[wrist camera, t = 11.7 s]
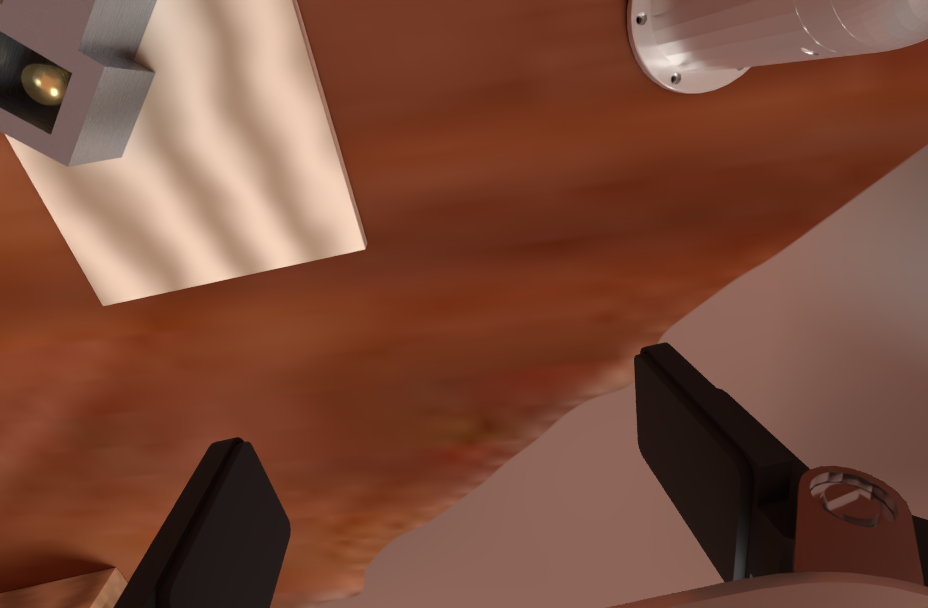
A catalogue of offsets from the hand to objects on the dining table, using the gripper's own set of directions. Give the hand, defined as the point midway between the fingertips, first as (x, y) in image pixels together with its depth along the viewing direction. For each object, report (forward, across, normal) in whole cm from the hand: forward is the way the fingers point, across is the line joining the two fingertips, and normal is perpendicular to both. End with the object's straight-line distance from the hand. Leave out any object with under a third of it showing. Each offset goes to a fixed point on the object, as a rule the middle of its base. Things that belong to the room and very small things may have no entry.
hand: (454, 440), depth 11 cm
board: (+32, +18, -13) cm, 39 cm away
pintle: (+32, +22, -13) cm, 41 cm away
